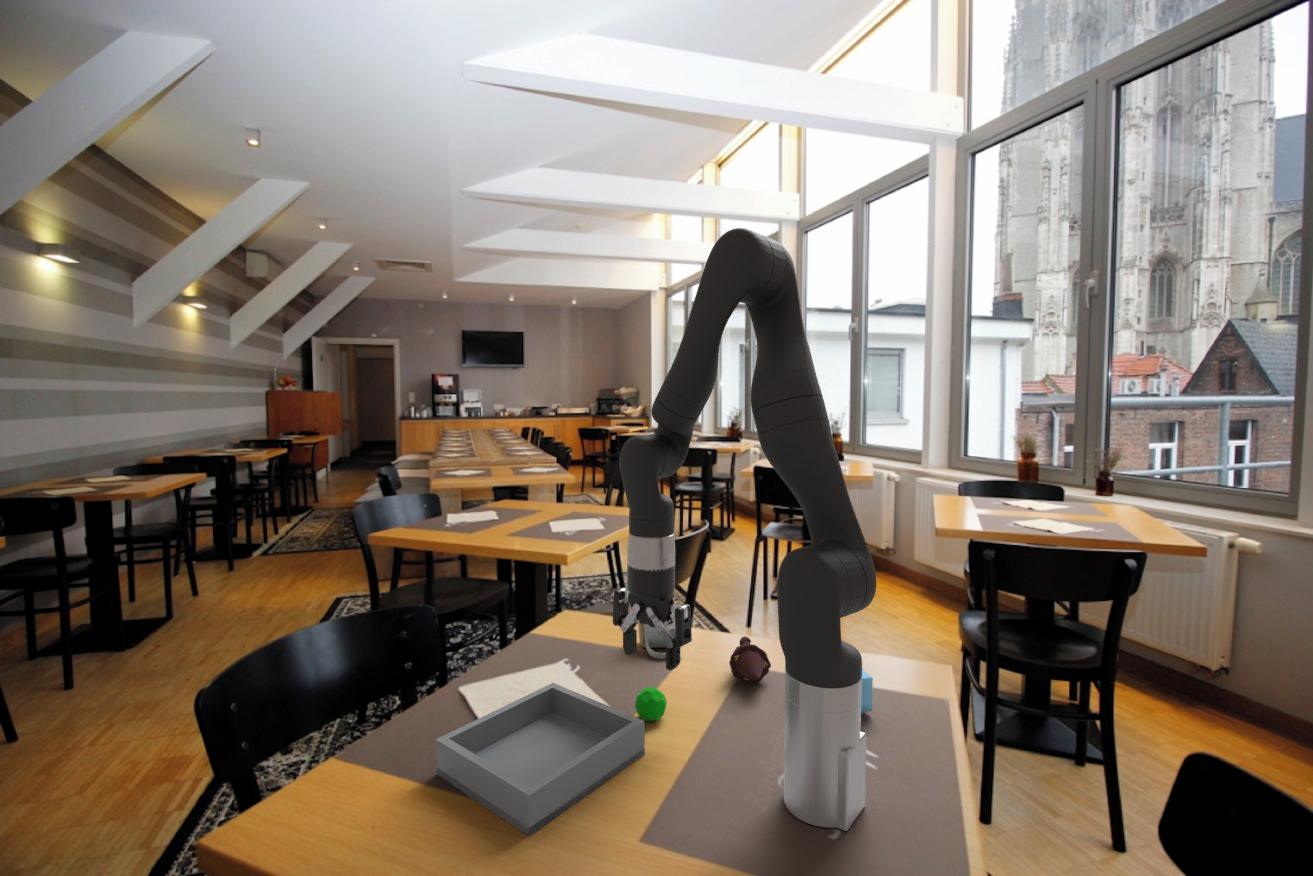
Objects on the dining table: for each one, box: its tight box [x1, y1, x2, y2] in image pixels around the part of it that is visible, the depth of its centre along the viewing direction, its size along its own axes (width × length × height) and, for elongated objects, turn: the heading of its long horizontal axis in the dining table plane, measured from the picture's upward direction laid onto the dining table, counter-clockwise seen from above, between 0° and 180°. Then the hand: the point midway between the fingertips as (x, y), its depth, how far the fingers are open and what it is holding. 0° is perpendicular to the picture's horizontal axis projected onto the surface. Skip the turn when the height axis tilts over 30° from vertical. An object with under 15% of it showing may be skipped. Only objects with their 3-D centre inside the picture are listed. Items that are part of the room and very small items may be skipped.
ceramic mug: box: [637, 613, 674, 660], centre depth 127 cm, size 11×8×8 cm
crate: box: [435, 682, 646, 837], centre depth 88 cm, size 19×21×5 cm
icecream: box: [728, 635, 772, 684], centre depth 113 cm, size 7×7×15 cm
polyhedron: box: [634, 686, 668, 722], centre depth 100 cm, size 5×5×5 cm
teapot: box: [861, 668, 874, 715], centre depth 105 cm, size 12×6×8 cm, turn 11°
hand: (650, 660), depth 100 cm, fingers open, 8 cm apart
